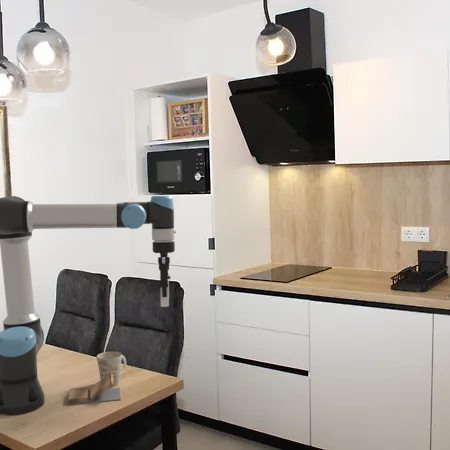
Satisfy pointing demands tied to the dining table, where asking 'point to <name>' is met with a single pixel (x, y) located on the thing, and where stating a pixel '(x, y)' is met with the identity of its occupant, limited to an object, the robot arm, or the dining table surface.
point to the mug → (111, 365)
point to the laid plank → (79, 395)
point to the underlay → (104, 397)
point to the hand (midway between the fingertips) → (165, 302)
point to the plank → (101, 386)
